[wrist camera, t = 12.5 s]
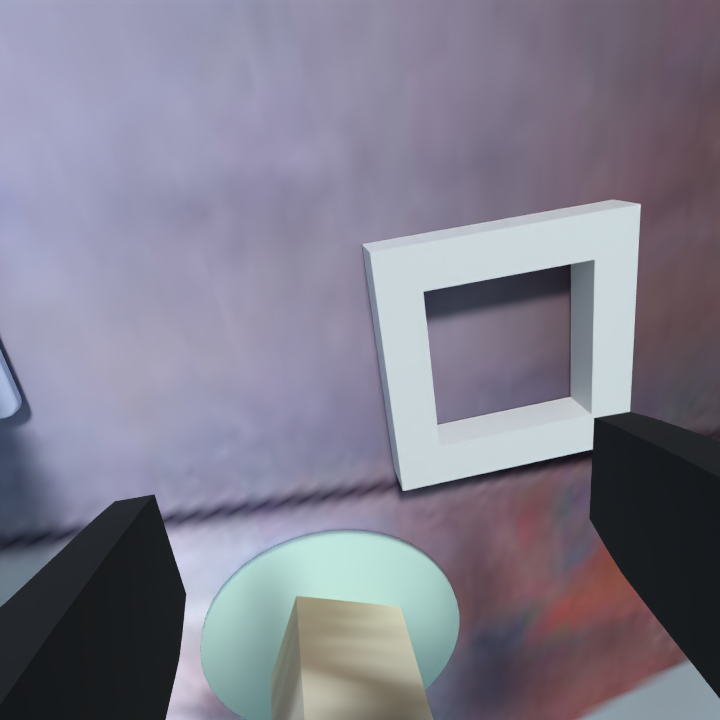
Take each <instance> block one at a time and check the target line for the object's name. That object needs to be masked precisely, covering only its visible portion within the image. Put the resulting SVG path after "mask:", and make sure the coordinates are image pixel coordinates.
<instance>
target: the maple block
mask: <svg viewBox="0 0 720 720" xmlns="http://www.w3.org/2000/svg"><path fill="white" fill-rule="evenodd" d="M271 720H433V716H432V713H431V709H430V706H429V703H428V699H427V696H426V692H425V689H424V685H423V682H422V678H421V675H420V672H419V668H418V665H417V661H416V658H415V654H414V651H413V647H412V644H411V641H410V637H409V634H408V630H407V627H406V623H405V620H404V616H403V613H402V610H401V607H400V606H390V605H380V604H371V603H361V602H351V601H342V600H332V599H322V598H313V597H303V596H296V598H295V602H294V605H293V608H292V611H291V614H290V618H289V621H288V624H287V627H286V631H285V634H284V637H283V640H282V643H281V647H280V650H279V653H278V656H277V660H276V663H275V666H274V669H273V672H272V676H271Z"/></svg>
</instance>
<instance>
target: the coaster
mask: <svg viewBox="0 0 720 720" xmlns="http://www.w3.org/2000/svg"><path fill="white" fill-rule="evenodd" d="M296 596H303V597H313V598H322V599H332V600H342V601H351V602H361V603H371V604H380V605H390V606H400V607H401V610H402V613H403V616H404V620H405V623H406V627H407V630H408V634H409V637H410V641H411V644H412V647H413V651H414V654H415V658H416V661H417V665H418V668H419V672H420V675H421V678H422V682H423V685H424V689H425V690H426V689H427V688H428V687H429V686H430V685H431V684H432V683H433V682H434V681H435V679H436V678H437V677H438V676H439V675H440V673H441V672H442V670H443V669H444V667H445V666H446V664H447V663H448V661H449V659H450V657H451V655H452V653H453V651H454V648H455V644H456V641H457V638H458V631H459V610H458V604H457V600H456V598H455V595H454V592H453V590H452V587H451V585H450V583H449V580H448V579H447V577H446V575H445V574H444V572H443V570H442V569H441V568H440V567H439V566H438V565H437V563H436V562H435V561H434V560H433V559H432V558H431V557H429V556H428V555H427V554H426V553H425V552H423V551H422V550H420V549H419V548H417V547H415V546H414V545H412V544H410V543H408V542H406V541H404V540H401V539H399V538H397V537H393V536H390V535H386V534H383V533H378V532H372V531H366V530H348V529H345V530H329V531H323V532H317V533H311V534H307V535H304V536H300V537H297V538H293V539H291V540H288V541H286V542H283V543H281V544H278V545H276V546H274V547H272V548H270V549H268V550H266V551H264V552H262V553H261V554H259V555H257V556H256V557H255V558H253V559H252V560H250V561H249V562H247V563H246V564H245V565H243V566H242V567H241V568H240V569H239V570H238V571H236V572H235V573H234V574H233V575H232V576H231V577H230V578H229V580H228V581H227V582H226V583H225V584H224V585H223V586H222V588H221V589H220V591H219V592H218V594H217V595H216V597H215V598H214V600H213V601H212V604H211V606H210V608H209V610H208V612H207V615H206V618H205V622H204V625H203V632H202V640H201V649H200V652H201V664H202V667H203V671H204V675H205V677H206V679H207V682H208V684H209V686H210V688H211V689H212V690H213V692H214V693H215V695H216V696H217V698H218V699H219V700H220V701H221V702H222V703H223V704H224V705H225V706H226V707H228V708H229V709H230V710H232V711H233V712H234V713H236V714H237V715H238V716H240V717H242V718H244V719H246V720H271V676H272V672H273V669H274V666H275V663H276V660H277V656H278V653H279V650H280V647H281V643H282V640H283V637H284V634H285V631H286V627H287V624H288V621H289V618H290V614H291V611H292V608H293V605H294V602H295V598H296Z"/></svg>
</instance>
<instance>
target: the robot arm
mask: <svg viewBox="0 0 720 720" xmlns="http://www.w3.org/2000/svg"><path fill="white" fill-rule="evenodd" d="M21 403H22V400H21V396H20V394H19V391H18V389H17V387H16V384H15V382H14V380H13V377H12V375H11V373H10V371H9V368H8V366H7V364H6V361H5V359H4V357H3V354H2V352H1V350H0V419H3V418H8V417H10V416H13V415H14V414H15V412H16V411H17V410H18V409H19V408H20V407H21ZM590 520H591V522H592V524H593V525H594V527H595V529H596V531H597V532H598V534H599V536H600V538H601V539H602V541H603V543H604V545H605V546H606V548H607V550H608V551H609V553H610V555H611V556H612V558H613V559H614V561H615V563H616V564H617V566H618V568H619V569H620V571H621V572H622V574H623V575H624V576H625V578H626V579H627V580H628V582H629V583H630V584H631V586H632V587H633V588H634V590H635V591H636V592H637V593H638V595H639V596H640V597H641V599H642V600H643V601H644V602H645V604H646V605H647V606H648V608H649V609H650V610H651V612H652V613H653V614H654V615H655V617H656V618H657V619H658V621H659V622H660V623H661V624H662V626H663V627H664V628H665V629H666V631H667V632H668V633H669V635H670V636H671V637H672V638H673V640H674V641H675V642H676V643H677V645H678V646H679V647H680V649H681V650H682V651H683V652H684V654H685V655H686V656H687V657H688V659H689V660H690V661H691V663H692V664H693V665H694V666H695V668H696V669H697V670H698V671H699V673H700V674H701V675H702V676H703V678H704V679H705V680H706V682H707V683H708V684H709V685H710V687H711V688H712V689H713V691H714V692H715V693H716V694H717V696H718V697H719V698H720V441H718V440H715V439H712V438H709V437H706V436H704V435H701V434H698V433H695V432H692V431H690V430H687V429H684V428H681V427H678V426H675V425H672V424H669V423H666V422H663V421H660V420H657V419H654V418H651V417H647V416H644V415H640V414H636V413H632V412H625V413H620V414H614V415H608V416H602V417H597V418H594V433H593V455H592V477H591V499H590ZM185 601H186V592H185V589H184V586H183V583H182V580H181V577H180V573H179V570H178V567H177V564H176V561H175V558H174V555H173V551H172V548H171V545H170V542H169V539H168V536H167V533H166V529H165V526H164V523H163V520H162V517H161V514H160V510H159V507H158V504H157V501H156V498H155V495H149V496H143V497H138V498H132V499H126V500H120V501H115V502H114V503H113V504H111V505H110V506H109V507H108V508H106V509H105V510H104V511H103V512H102V513H101V514H100V515H98V516H97V517H96V518H95V519H94V520H93V521H92V522H91V523H90V524H89V525H88V526H87V527H85V528H84V529H83V530H82V531H81V532H80V533H79V534H78V535H77V536H76V537H75V538H74V539H73V540H72V541H71V542H70V543H69V544H68V545H67V546H65V547H64V548H63V549H62V550H61V551H60V552H59V553H58V554H57V555H56V556H55V557H54V558H53V559H52V560H51V561H50V562H49V563H48V564H46V565H45V566H44V567H43V568H42V569H41V570H40V571H39V572H38V573H37V574H36V575H35V576H34V577H33V578H32V579H31V580H29V581H28V582H27V583H26V584H25V585H24V586H23V587H22V588H21V589H20V590H19V591H18V592H17V593H16V594H15V595H14V596H12V597H11V598H10V599H9V600H8V601H7V602H6V603H5V604H4V605H3V606H1V607H0V720H165V719H166V715H167V711H168V706H169V702H170V697H171V693H172V689H173V684H174V680H175V676H176V671H177V666H178V662H179V657H180V648H181V640H182V631H183V622H184V611H185Z"/></svg>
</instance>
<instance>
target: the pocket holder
mask: <svg viewBox="0 0 720 720" xmlns="http://www.w3.org/2000/svg"><path fill="white" fill-rule="evenodd" d="M640 207H641V204H637V203H631V202H624V201H618V200H608V201H602V202H597V203H591V204H585V205H580V206H574V207H568V208H563V209H557V210H552V211H546V212H540V213H535V214H529V215H523V216H518V217H512V218H506V219H501V220H495V221H490V222H484V223H478V224H473V225H467V226H461V227H456V228H450V229H444V230H439V231H433V232H428V233H422V234H416V235H411V236H405V237H399V238H394V239H388V240H383V241H377V242H371V243H366V244H362V249H363V256H364V263H365V270H366V277H367V283H368V290H369V297H370V304H371V311H372V318H373V325H374V332H375V339H376V346H377V353H378V360H379V367H380V374H381V381H382V388H383V395H384V402H385V409H386V416H387V423H388V430H389V437H390V444H391V451H392V458H393V465H394V470H395V472H396V475H397V477H398V480H399V482H400V485H401V487H402V490H403V491H406V490H411V489H415V488H420V487H424V486H429V485H433V484H438V483H442V482H447V481H451V480H456V479H460V478H465V477H469V476H474V475H479V474H483V473H488V472H492V471H497V470H501V469H506V468H510V467H515V466H519V465H524V464H528V463H533V462H537V461H542V460H546V459H551V458H555V457H560V456H565V455H569V454H574V453H578V452H583V451H587V450H592V449H593V433H594V418H597V417H602V416H608V415H614V414H620V413H625V412H630V401H631V381H632V362H633V343H634V323H635V304H636V284H637V265H638V246H639V226H640ZM568 264H571V372H570V397H567V398H563V399H558V400H553V401H548V402H544V403H539V404H534V405H529V406H525V407H520V408H515V409H510V410H506V411H501V412H496V413H491V414H487V415H482V416H477V417H472V418H468V419H463V420H458V421H453V422H449V423H444V424H439V425H437V418H436V409H435V399H434V389H433V380H432V370H431V360H430V351H429V341H428V332H427V322H426V312H425V303H424V293H423V292H424V291H430V290H435V289H440V288H446V287H451V286H456V285H462V284H467V283H472V282H478V281H483V280H488V279H494V278H499V277H504V276H510V275H515V274H520V273H526V272H531V271H536V270H542V269H547V268H552V267H558V266H563V265H568Z"/></svg>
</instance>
